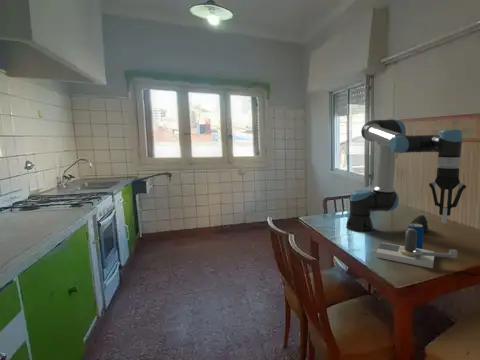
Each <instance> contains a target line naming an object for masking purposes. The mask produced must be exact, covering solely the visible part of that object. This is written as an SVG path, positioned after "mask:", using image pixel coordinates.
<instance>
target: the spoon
mask: <svg viewBox="0 0 480 360" xmlns="http://www.w3.org/2000/svg"><path fill="white" fill-rule="evenodd" d="M413 255H415V256H422V255H424V256H434V257H439V258H440V257H441V258H451V259H452V258H453V259H457V258H458V250H457V249H453V248H452V249H448V253H444V252H435V253H432V252H422V251H420V250H413Z"/></svg>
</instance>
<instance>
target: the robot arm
mask: <svg viewBox="0 0 480 360" xmlns="http://www.w3.org/2000/svg"><path fill="white" fill-rule="evenodd" d="M406 130H407V129H406V125H405V124H404V122H403V121H402V120H400V119H372V120H369V121H368V122H366V123H364V124H363V125H362V127H361V131H360V132H361V137H362V138H363V139H365V140H366V141H369V142H376V143H377V145H379V153H378V156H379V157H378V165H377V168H378V169H377V177H376V178H377V179H376V186H374V187H373V191H372V190H370V189H364V188H363V189H356V190H353V191H351V193H350V197H349V216H348V218H347V220H346V221H347V222H346V229H348V230H350V231H353V232H359V233H360V232H361V233H362V232H363V233H366V232H372V231H373V230H374V224H373V220H372V218H371V212H390V211H391V212H392V211H394V210H395V209H396V208H398V206H399V200H400V199H399V194H398V193H397V192H396V189H395V188H394V187H393V185H394V176H395V167H396V165H395V164H396V157H397V154H404V153H406V154H407V153H437V154H438V156H437V169H436V178H435V179H434V181H432V182H428V186H429V188H430V189H431V192H432V197H433V202H434V205H435V206H436V207H438V208H439V211H438V214H439V215H440V216H441V223H442V224H447V218H448V216H451V210H452V208H456V207H457V206H458V204H459V201H460V199H461V196H462V194H463V191H464V190H465V189H466V188H467V185H466V184H463V183H462V182H461V181H460V168H459V167H461V166H460V164H461V154H462V143H463V131H462V130H461V129H442V130H440V131H439V134H421V135H419V134H418V135H407V131H406ZM436 185H437V186H438V187H439V189H440V194H439V195H440V196H439V197H440V198H439V201H438V197H437V192H436V187H437V186H436ZM456 187H458V190H457V192H456V194H455V197H454V200H453V199H452V197H453V190H454V189H455V188H456ZM446 190H447V201H446V202H447V203H446V206H444V202H445V191H446ZM452 200H453V201H452Z"/></svg>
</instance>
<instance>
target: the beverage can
mask: <svg viewBox="0 0 480 360" xmlns="http://www.w3.org/2000/svg"><path fill="white" fill-rule="evenodd" d="M408 228H412V229H415V231H417V241H416V248H418V249H423V246H424V245H423V243H424V232H423V230H424V228H423V225H421V224H415V223H412V222H410V223H409V224H408V226H407V229H408Z"/></svg>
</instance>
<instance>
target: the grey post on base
mask: <svg viewBox="0 0 480 360" xmlns="http://www.w3.org/2000/svg"><path fill="white" fill-rule="evenodd" d="M404 237H405V239H404V246H405V247H404V248H401V250H400V252H401V253H402V254H404V255H408V256H413V257H414V256H415V255H413V250H417V249H416V241H417V231H415V229H412V228H408V227H407V229H406V230H405V234H404Z"/></svg>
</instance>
